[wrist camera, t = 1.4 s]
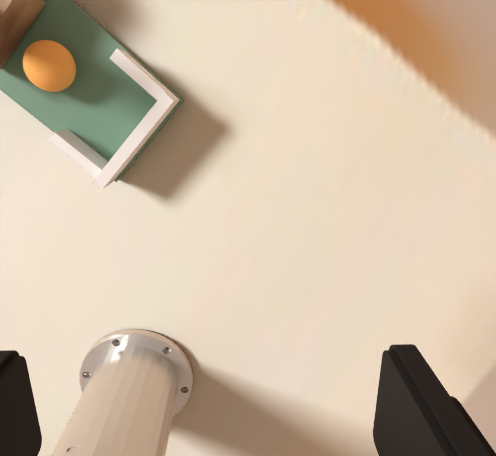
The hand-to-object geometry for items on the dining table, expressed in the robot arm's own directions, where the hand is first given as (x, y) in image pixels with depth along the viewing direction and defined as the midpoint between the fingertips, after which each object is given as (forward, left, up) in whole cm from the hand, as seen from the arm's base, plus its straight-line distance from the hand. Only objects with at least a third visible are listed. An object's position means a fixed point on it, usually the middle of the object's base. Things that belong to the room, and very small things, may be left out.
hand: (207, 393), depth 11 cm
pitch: (-3, +15, -31) cm, 35 cm away
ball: (-3, +17, -28) cm, 33 cm away
